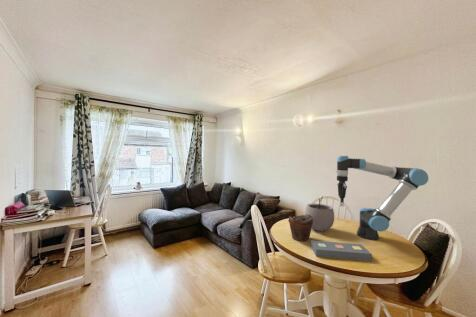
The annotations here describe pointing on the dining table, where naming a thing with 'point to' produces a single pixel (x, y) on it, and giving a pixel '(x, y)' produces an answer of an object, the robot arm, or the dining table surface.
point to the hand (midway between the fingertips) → (341, 206)
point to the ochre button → (356, 248)
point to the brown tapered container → (301, 227)
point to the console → (341, 251)
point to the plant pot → (320, 216)
